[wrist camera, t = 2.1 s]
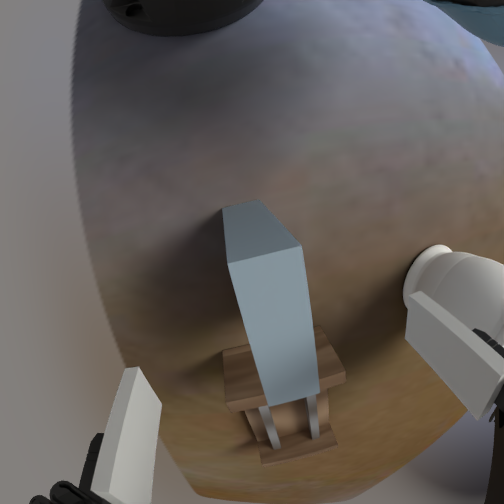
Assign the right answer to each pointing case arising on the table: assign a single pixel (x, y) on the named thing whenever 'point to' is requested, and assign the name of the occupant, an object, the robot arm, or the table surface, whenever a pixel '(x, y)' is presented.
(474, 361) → the robot arm
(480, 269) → the jar
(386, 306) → the table surface
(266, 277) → the blue-gray rectangular block
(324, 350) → the wooden rod frame
